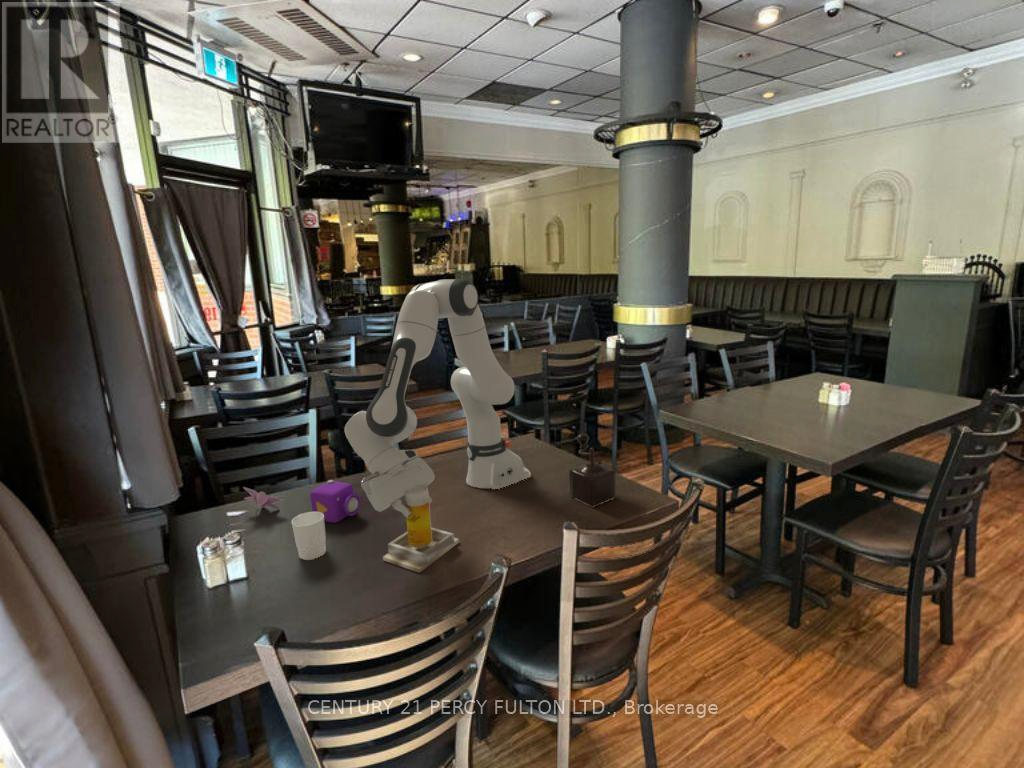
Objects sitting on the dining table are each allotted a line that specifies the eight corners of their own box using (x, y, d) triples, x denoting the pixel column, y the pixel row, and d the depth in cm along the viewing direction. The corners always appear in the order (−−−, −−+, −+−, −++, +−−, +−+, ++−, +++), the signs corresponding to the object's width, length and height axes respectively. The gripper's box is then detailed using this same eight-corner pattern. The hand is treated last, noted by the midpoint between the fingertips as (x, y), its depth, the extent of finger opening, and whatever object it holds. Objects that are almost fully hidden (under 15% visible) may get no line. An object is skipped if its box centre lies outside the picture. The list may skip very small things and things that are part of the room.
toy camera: (351, 526, 151) (347, 494, 149) (308, 523, 154) (304, 492, 151) (368, 509, 161) (365, 479, 159) (328, 507, 164) (324, 477, 162)
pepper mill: (618, 498, 162) (618, 443, 158) (592, 508, 156) (591, 451, 152) (584, 482, 174) (583, 431, 170) (558, 491, 168) (557, 438, 164)
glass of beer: (406, 540, 137) (401, 487, 134) (429, 535, 139) (424, 482, 136) (411, 551, 132) (406, 495, 128) (435, 545, 134) (430, 490, 131)
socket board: (383, 560, 133) (381, 547, 132) (424, 532, 146) (423, 520, 145) (419, 572, 127) (418, 559, 126) (459, 542, 140) (458, 530, 139)
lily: (287, 520, 159) (290, 488, 162) (248, 519, 150) (252, 485, 153) (269, 521, 166) (272, 490, 169) (230, 521, 158) (234, 488, 160)
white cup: (304, 545, 141) (299, 511, 139) (332, 545, 141) (328, 511, 139) (291, 562, 134) (286, 526, 131) (321, 561, 133) (316, 525, 131)
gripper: (363, 473, 126) (396, 520, 123) (419, 447, 143) (450, 487, 140) (352, 487, 129) (384, 533, 126) (408, 460, 146) (438, 500, 143)
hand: (419, 509), depth 133 cm, fingers closed on glass of beer, 6 cm apart
